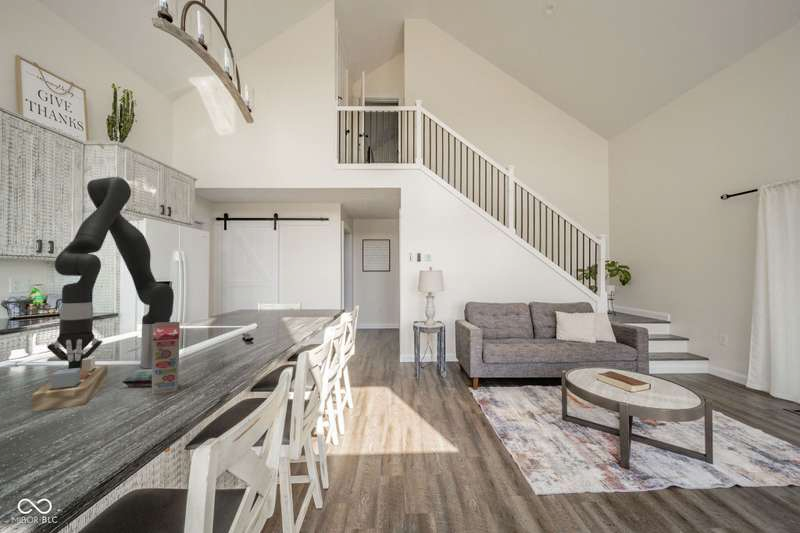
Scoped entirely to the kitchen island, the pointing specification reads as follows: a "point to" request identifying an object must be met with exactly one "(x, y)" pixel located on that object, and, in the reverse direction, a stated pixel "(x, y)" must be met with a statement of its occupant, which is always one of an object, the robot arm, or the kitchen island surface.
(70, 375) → the slate key
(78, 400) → the light brown rectangular frame
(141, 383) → the packaged food
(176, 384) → the juice carton
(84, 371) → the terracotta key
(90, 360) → the white square block
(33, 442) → the kitchen island surface
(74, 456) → the kitchen island surface
